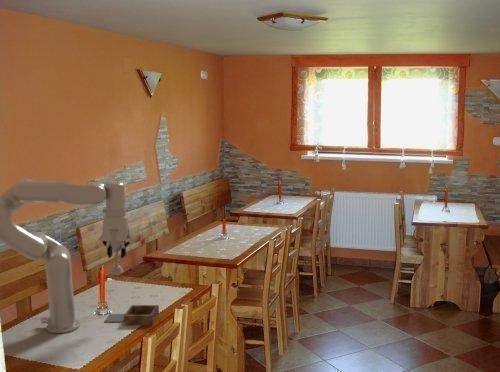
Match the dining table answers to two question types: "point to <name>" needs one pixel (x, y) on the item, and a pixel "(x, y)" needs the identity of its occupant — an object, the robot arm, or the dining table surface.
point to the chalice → (116, 247)
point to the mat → (115, 318)
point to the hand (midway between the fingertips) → (116, 256)
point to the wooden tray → (141, 315)
